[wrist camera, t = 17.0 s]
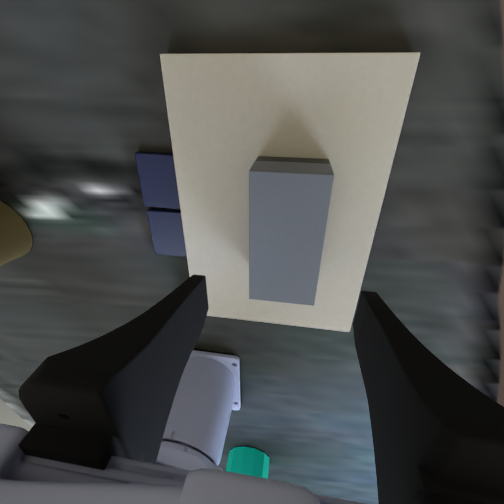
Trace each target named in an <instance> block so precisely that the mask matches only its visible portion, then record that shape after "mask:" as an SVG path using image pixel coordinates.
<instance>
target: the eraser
mask: <svg viewBox="0 0 504 504" xmlns="http://www.w3.org/2000/svg"><path fill="white" fill-rule="evenodd" d="M333 179H334V173H333V170H332V167H331V164H330V161H329V159H319V158H294V157H269V156H258V157H257V159H256V161H255V162H254V163H253V165H252V167H251V168H250V170H249V299H255V300H264V301H274V302H283V303H293V304H302V305H311V306H314V304H315V297H316V290H317V284H318V277H319V271H320V264H321V258H322V251H323V245H324V238H325V232H326V225H327V219H328V212H329V206H330V199H331V192H332V186H333Z"/></svg>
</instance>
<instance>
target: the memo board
mask: <svg viewBox="0 0 504 504" xmlns="http://www.w3.org/2000/svg"><path fill="white" fill-rule="evenodd" d="M419 57H420V52H377V53H199V54H160V60H161V68H162V75H163V83H164V90H165V97H166V105H167V112H168V120H169V127H170V135H171V142H172V150H173V157H174V165H175V172H176V179H177V187H178V194H179V202H180V209H181V217H182V224H183V232H184V239H185V247H186V254H187V262H188V269H189V276H190V277H191V276H192V275H204V276H206V286H207V296H208V307H209V309H208V312H207V316H215V317H224V318H232V319H241V320H250V321H258V322H267V323H275V324H284V325H293V326H301V327H310V328H319V329H327V330H336V331H344V332H350V328H351V324H352V320H353V317H354V313H355V309H356V305H357V301H358V297H359V293H360V289H361V285H362V281H363V277H364V273H365V269H366V265H367V262H368V258H369V254H370V250H371V246H372V242H373V238H374V234H375V230H376V226H377V222H378V218H379V214H380V210H381V207H382V203H383V199H384V195H385V191H386V187H387V183H388V179H389V175H390V171H391V167H392V163H393V159H394V155H395V152H396V148H397V144H398V140H399V136H400V132H401V128H402V124H403V120H404V116H405V112H406V108H407V104H408V100H409V97H410V93H411V89H412V85H413V81H414V77H415V73H416V69H417V65H418V61H419ZM258 156H269V157H294V158H319V159H329V161H330V164H331V167H332V170H333V173H334V179H333V186H332V192H331V199H330V206H329V212H328V219H327V225H326V232H325V238H324V245H323V251H322V258H321V264H320V271H319V277H318V284H317V290H316V297H315V304H314V306H311V305H302V304H293V303H283V302H274V301H264V300H255V299H249V170H250V168H251V167H252V165H253V163H254V162H255V161H256V159H257V157H258Z"/></svg>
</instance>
